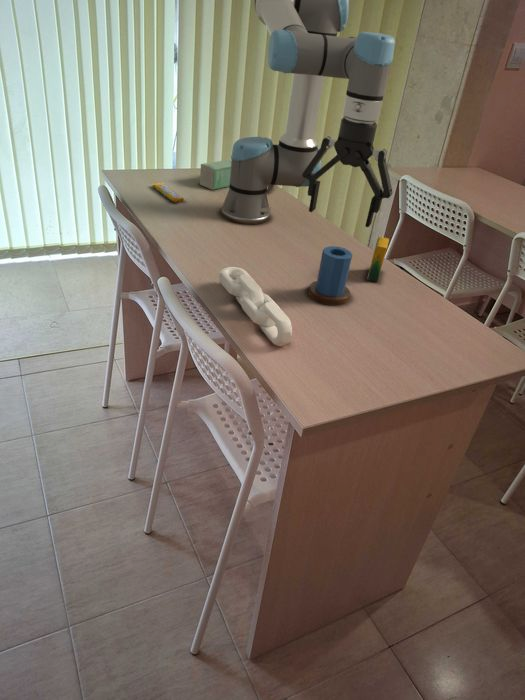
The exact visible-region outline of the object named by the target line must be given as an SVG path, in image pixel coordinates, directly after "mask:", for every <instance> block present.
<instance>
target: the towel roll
mask: <svg viewBox="0 0 525 700" xmlns="http://www.w3.org/2000/svg"><path fill="white" fill-rule="evenodd" d="M334 254H339V255H340V256H337V255H334ZM352 258H353V253H352V252H351V250H349V249H347V248H345V247H341V246H338V245H337V246H335V245H334V246H333V245H330V246H325V247H324V248H323V249H322V253H321V258H320V263H319V269H318V275H317V280H316V281H317V284H316V289H317V291H318V292H320V293H321V294H323V295H327V296H334V297H337V296H341V295H342V294H343V293H344V290H345V286H346V285H347V281H348V277H349V272H350V268H351V264H352V260H353V259H352ZM346 287H347V286H346Z"/></svg>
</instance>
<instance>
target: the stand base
mask: <svg viewBox="0 0 525 700" xmlns="http://www.w3.org/2000/svg"><path fill="white" fill-rule="evenodd" d="M316 284H317V280H315V281H313V282H311V284H310V285H309V288H308V294H309V296H310V297H311V299H313V300H314V301H316V302H318V303H320V304H323V305H329V306H340V305H344V304H347V302H349V300H350V295H351V291H350V289H349V288H348V287H347V286H345V290H344V293H343V294H342V295H341V296H337V297H334V296H327V295H323V294H321V293H320V292H318V291H317V289H316Z"/></svg>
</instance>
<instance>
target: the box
mask: <svg viewBox="0 0 525 700" xmlns="http://www.w3.org/2000/svg"><path fill="white" fill-rule="evenodd" d="M199 172H200V174H199V185H200V186H202V187H204V188H207V189H209V190H212V191H214V190H218V189H223V188H224V189H225V188H228V187H229V186H230V173H231V159H226V160H225V159H224V160H218V161H211V162H205V163H200V171H199Z"/></svg>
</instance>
